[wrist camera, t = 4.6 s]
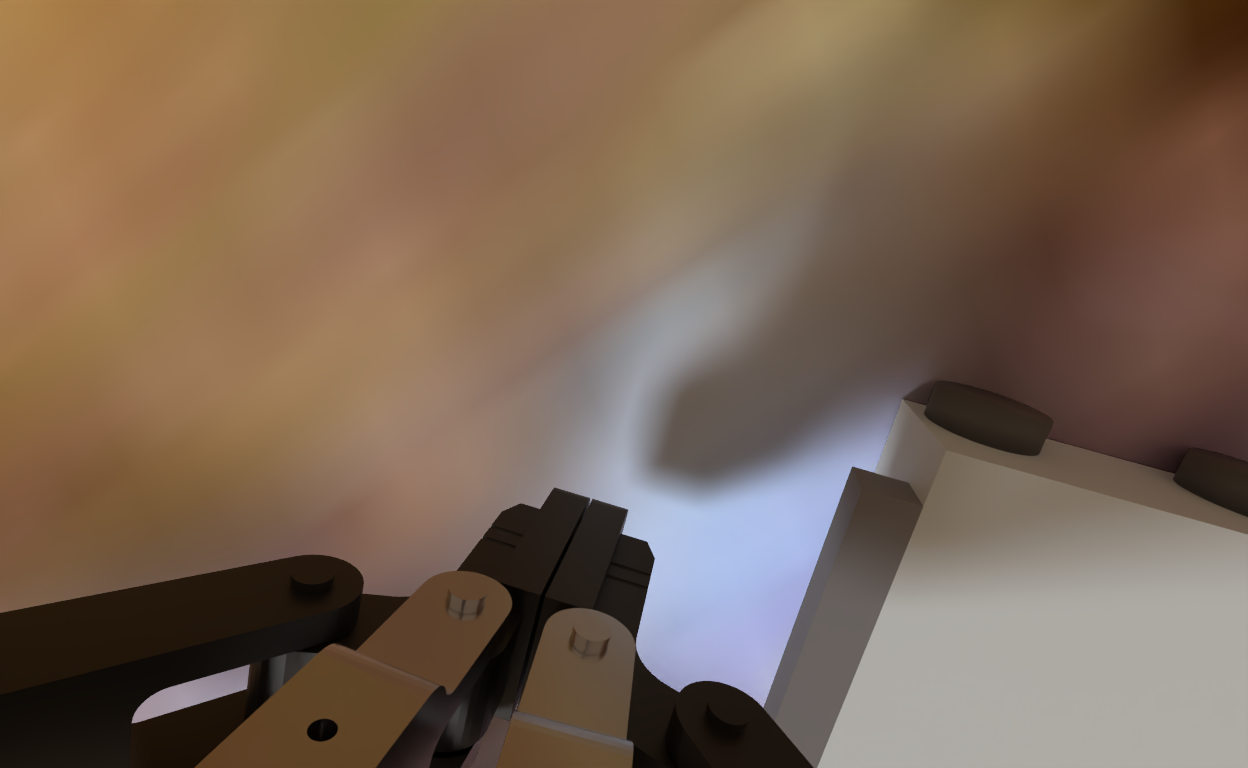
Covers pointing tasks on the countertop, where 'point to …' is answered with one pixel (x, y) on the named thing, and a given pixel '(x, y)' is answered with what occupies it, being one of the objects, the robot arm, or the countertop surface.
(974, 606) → the white box with feet
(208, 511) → the countertop surface
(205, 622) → the robot arm
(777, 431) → the countertop surface
